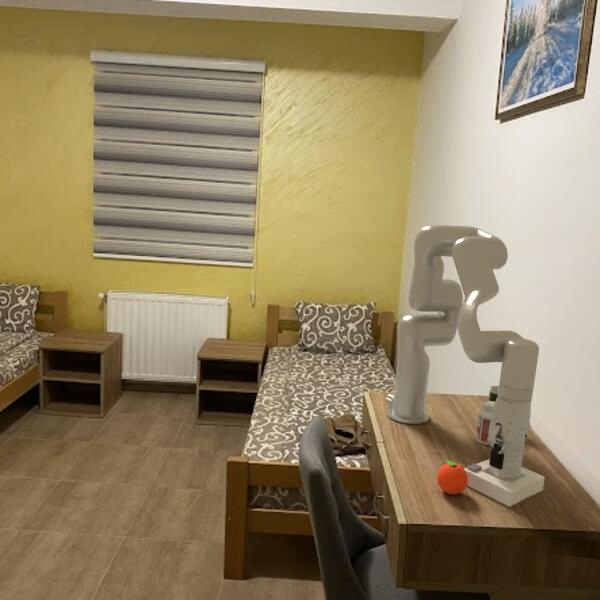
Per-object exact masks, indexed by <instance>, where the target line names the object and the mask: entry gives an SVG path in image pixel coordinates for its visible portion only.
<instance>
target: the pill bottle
mask: <svg viewBox="0 0 600 600" xmlns="http://www.w3.org/2000/svg"><path fill="white" fill-rule="evenodd" d="M494 404H495V402H493V401H488V400H486V401H483V403H482V409H480V410H479V413H478V416H477V417H478V418H477V425H476V426H477V427H476V434H475V435H476V436H475V439H476V441H477V442H478V443H480V444H483V445H487V446H489V443H488V441H487V438H488V437H489V426H490V421H491V416H492V411H493V408H494Z"/></svg>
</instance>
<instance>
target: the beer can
mask: <svg viewBox="0 0 600 600" xmlns="http://www.w3.org/2000/svg"><path fill="white" fill-rule="evenodd" d="M498 390H499V385H492V386H490V389H489V394H488V399H487V401H493V402H495V401H496V398H497V397H498Z"/></svg>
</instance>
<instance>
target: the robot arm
mask: <svg viewBox="0 0 600 600" xmlns="http://www.w3.org/2000/svg"><path fill="white" fill-rule="evenodd" d="M508 254H509V253H508V248H507V246H506V244H505V243H504V241H503V240H502V239H500V238H499V237H498V236H496V235H493V234H492V233H489V232H488V231H485V230H482V229H481V228H478V227H475V226H466V225H449V224H447V225H445V224H434V225H426V226H423V227H422V228H420V229H419V231H418V232H417V233H416V236H415V238H414V242H413V255H414V256H413V257H414V263H413V269H412V274H411V280H410V286H409V290H408V304H409V305H408V306H409V307H410V309H412V310H413V311H416V312H426V313H412V314H407V315H404V316H403V317H401V318H400V319H399V321H398V323H397V327H396V328H397V330H396V332H397V360H396V362H397V363H396V372H395V382H394V393H393V395H392V394H387V396H386V397H385V398H384V402H385V403H387V404H390V405H389V407H388V408H387V410H386V415H387V416H388V417H389V418H390V419H392V420H393V421H396V422H398V423H402V424H403V423H404V424H410V425H420V424H424V423H427V422H428V421H429V419H430V414H429V413H428V411H426V402H427V400H426V399H427V393H428V383H429V376H430V374H429V373H430V365H431V363H430V362H431V361H430V358H429V356H428V353H427V352H426V350H425V348H426V347H438V346H443V347H444V346H448V345H450V344H451V343H453V341H454V339H455V337H456V334H457V331H458V336H459V339H460V342H461V345H462V349H463V351H464V353H465V355H466V356H467V358H468V359H469V360H470V361H471V362H473V363H478V364H483V363H484V364H486V363H501V367H500V368H501V369H500V375H499V384H498V386H499V390H498V397H497V398H496V401H495V404H494V408H493V411H492V416H491V421H490V426H489V437H488V438H487V441H488V443H489V445H488V447H490V448H489V450H490V456H489V459H490V463H489V464H490V466H492V467H494V468H497V469H499V470H502V468H503V461H504V453H503V451H504V449H505V446H506V444H507V443H508V442H511V441H514V440H516V438H517V436H518V434H519V431H520V430H521V429H526V435H525V440H526V439H527V437H528V433H529V431H530V429H531V424H530V421H531V413H532V410H531V409H532V401H533V395H534V394H533V393H534V386H535V381H536V373H537V367H538V361H539V354H540V353H539V352H540V347H539V345H538V343H536V342H535V341H533V340H531V339H526V338H525V337H523V336H521V334H519V333H517V332H516V331H513V330H481V328H480V325H479V321H478V316H477V314H478V313H477V311H478V307H479V306H480V305H483V304H485V303H486V302H488V301H491V300H492V299H493V298H495V297H496V296H497V295H498V293H499V291H500V286H499V284H498V280H497V278H496V275H495V271H494V270H500V269H502V268H503V267H504V266H505V265H506V263H507V262H508V257H509V255H508ZM442 257H451V258H452V259H453V263H454V265H455V268H456V273H457V275H458V278H459V283H460V284H459V283H458V281H456V280H454V279H450V278H449V279H448V278H443V276H444V273H445V265H444V264H445V263H444V261H443V259H442ZM463 300H464V301H463ZM428 312H429V313H428ZM433 312H436V313H433ZM501 435H502V437H503V440H502V439H499V438H498V437H499V436H501ZM498 441H499V442H502V444H501V446H500V447H499V445H498V444H497V442H498ZM525 444H526V442H525V443H524V446H525Z"/></svg>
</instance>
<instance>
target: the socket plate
mask: <svg viewBox="0 0 600 600" xmlns="http://www.w3.org/2000/svg"><path fill="white" fill-rule="evenodd" d="M489 463H490V458H488V459H486V460H483V461H481V462H479V463H473V464H470V465H469V466H468V465H467V467H465V468H464V470H465V471H466V473H467V476H468V483H467V486H468V487H469V488H471V489H473V490H475V491H477V492H479V493H481V494H483V495H484V496H487V497H489V498H491V499H493V500H495V501H497V502H499V503H500V504H502V505H505V506H507V507H512V506H514V505H516V504H518V503H521V502H522V501H524V500H526V499H528V498H530V497H532V496H534V495H537V494H538V493H540V492H543V490H544V483H545V478H546V476H544V475H542V474H539V473H536V472H535V471H533V470H530V469H529V468H526V467H524V466H521V473H520V477H511V478H497V477H496V476H495V475H493V474H492V473H491V472H490V471H489V467H490V464H489ZM467 486H466V487H467ZM536 493H537V494H536ZM531 495H532V496H531ZM529 496H530V497H529ZM527 497H528V498H527ZM525 498H526V499H525ZM523 499H524V500H523ZM521 500H522V501H521Z"/></svg>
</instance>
